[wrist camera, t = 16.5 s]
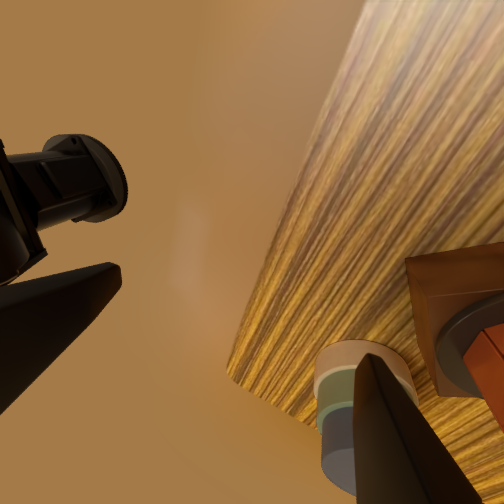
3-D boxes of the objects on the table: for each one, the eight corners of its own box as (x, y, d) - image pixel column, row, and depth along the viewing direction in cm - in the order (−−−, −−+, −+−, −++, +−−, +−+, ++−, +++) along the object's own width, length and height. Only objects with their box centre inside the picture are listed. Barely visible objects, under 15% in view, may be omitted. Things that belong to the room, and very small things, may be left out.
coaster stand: (417, 343, 22) (441, 405, 17) (404, 257, 19) (430, 303, 14) (555, 337, 18) (635, 412, 14) (568, 230, 15) (676, 279, 11)
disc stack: (326, 398, 29) (324, 498, 21) (305, 341, 26) (295, 435, 18) (414, 401, 25) (452, 523, 17) (403, 336, 22) (442, 450, 14)
